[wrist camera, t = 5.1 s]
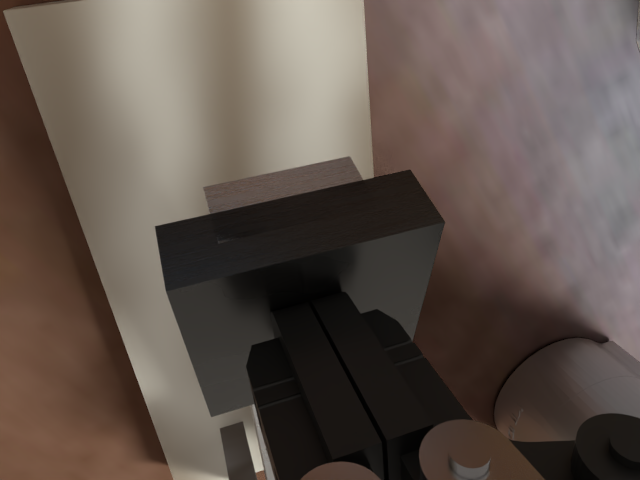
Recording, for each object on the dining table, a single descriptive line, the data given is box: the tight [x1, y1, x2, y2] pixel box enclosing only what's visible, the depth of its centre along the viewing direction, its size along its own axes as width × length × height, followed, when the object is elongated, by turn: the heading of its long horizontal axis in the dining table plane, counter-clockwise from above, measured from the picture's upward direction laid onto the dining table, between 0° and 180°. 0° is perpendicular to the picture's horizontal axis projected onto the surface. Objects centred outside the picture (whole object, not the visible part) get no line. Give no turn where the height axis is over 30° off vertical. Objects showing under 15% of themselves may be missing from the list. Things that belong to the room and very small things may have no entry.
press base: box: [3, 0, 374, 480], centre depth 22 cm, size 12×24×7 cm, turn 5°
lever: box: [155, 156, 445, 480], centre depth 18 cm, size 5×21×2 cm, turn 5°
